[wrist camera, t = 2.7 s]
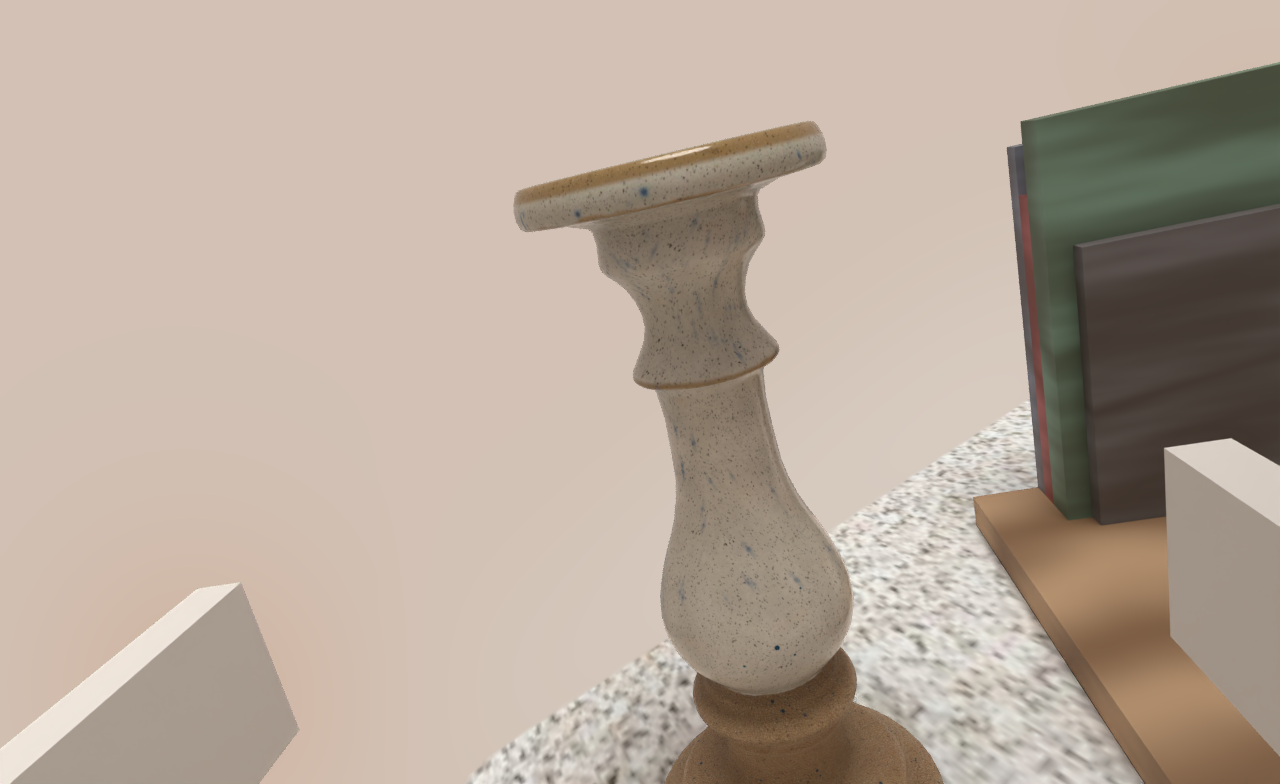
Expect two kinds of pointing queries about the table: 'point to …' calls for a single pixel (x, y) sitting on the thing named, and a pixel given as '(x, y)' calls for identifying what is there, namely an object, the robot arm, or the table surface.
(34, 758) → the robot arm
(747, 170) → the candle holder
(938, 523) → the table surface
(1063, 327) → the wooden bookend
